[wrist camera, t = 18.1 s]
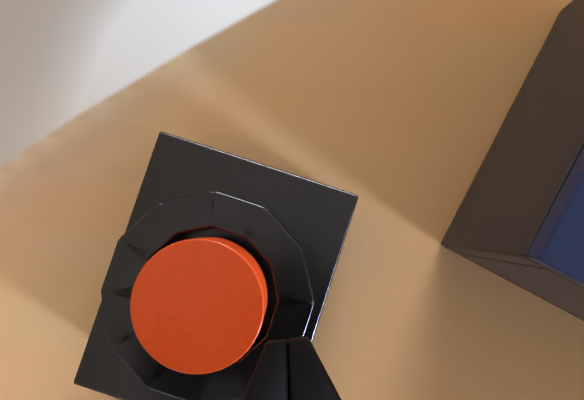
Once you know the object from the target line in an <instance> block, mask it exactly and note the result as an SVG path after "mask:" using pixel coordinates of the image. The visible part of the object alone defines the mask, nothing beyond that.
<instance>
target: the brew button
mask: <svg viewBox="0 0 584 400" xmlns="http://www.w3.org/2000/svg"><path fill="white" fill-rule="evenodd" d="M267 302H268V289H267V283H266V279H265V276H264V273H263V271H262V269H261V267H260V265H259V264H258V262H257V261H256V260H255V258H254V257H253V256H252V255H251V254H250V253H249V252H248V251H247V250H246V249H244V248H243V247H242V246H240V245H238V244H236V243H235V242H232V241H230V240H227V239H223V238H218V237H201V238H194V239H188V240H182V241H179V242H175V243H173V244H171V245H168V246H166V247H165V248H163V249H161V250H160V251H159V252H157V253H156V254H155V255H153V256H152V257H151V258H150V259H149V260H148V261H147V263H146V264H145V265H144V266H143V268H142V269H141V271H140V273H139V274H138V276H137V278H136V281H135V283H134V286H133V289H132V293H131V300H130V314H131V321H132V325H133V329H134V331H135V334H136V336H137V338H138V340H139V342H140V343H141V345H142V346H143V348H144V349H145V350H146V352H147V353H148V354H149V355H150V356H151V357H152V358H154V359H155V360H156V361H157V362H159V363H160V364H162V365H164V366H165V367H167V368H169V369H172V370H174V371H177V372H181V373H186V374H207V373H212V372H216V371H219V370H222V369H224V368H226V367H228V366H230V365H231V364H233V363H235V362H236V361H237V360H239V359H240V358H241V357H242V356H243V355H244V354H245V353H246V352H247V351H248V350H249V349H250V347H251V346H252V345H253V343H254V341H255V340H256V338H257V336H258V334H259V331H260V329H261V326H262V323H263V319H264V316H265V312H266V308H267Z"/></svg>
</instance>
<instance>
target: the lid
mask: <svg viewBox="0 0 584 400" xmlns="http://www.w3.org/2000/svg"><path fill="white" fill-rule="evenodd" d="M527 257H528V258H529V259H531V260H533V261H535V262H537V263H539V264H541V265H542V266H544V267H546V268H548V269H550V270H552V271H554V272H556V273H558V274H559V275H561V276H563V277H565V278H567V279H569V280H571V281H573V282H575V283H576V284H578V285H580V286H582V287H584V148H583V149H582V151H581V153H580V155H579V157H578V159H577V161H576V163H575V165H574V166H573V168H572V170H571V172H570V174H569V176H568V178H567V180H566V182H565V183H564V185H563V187H562V189H561V191H560V193H559V195H558V197H557V198H556V200H555V202H554V204H553V206H552V208H551V210H550V212H549V214H548V215H547V217H546V219H545V221H544V223H543V225H542V227H541V229H540V231H539V232H538V234H537V236H536V238H535V240H534V242H533V244H532V246H531V247H530V249H529V251H528V253H527Z"/></svg>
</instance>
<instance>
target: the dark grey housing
mask: <svg viewBox="0 0 584 400" xmlns="http://www.w3.org/2000/svg"><path fill="white" fill-rule="evenodd" d="M583 148H584V0H573V1H572V2H571V3H570V4H568V5H567V6H566V7H565V8H563V9H562V10H561V12H560V14H559V16H558V18H557V19H556V21H555V23H554V25H553V27H552V29H551V31H550V33H549V35H548V37H547V39H546V41H545V43H544V45H543V47H542V49H541V50H540V52H539V54H538V56H537V58H536V60H535V62H534V64H533V66H532V68H531V70H530V72H529V74H528V76H527V78H526V80H525V81H524V83H523V85H522V87H521V89H520V91H519V93H518V95H517V97H516V99H515V101H514V103H513V105H512V107H511V109H510V111H509V113H508V114H507V116H506V118H505V120H504V122H503V124H502V126H501V128H500V130H499V132H498V134H497V136H496V138H495V140H494V142H493V144H492V145H491V147H490V149H489V151H488V153H487V155H486V157H485V159H484V161H483V163H482V165H481V167H480V169H479V171H478V173H477V175H476V176H475V178H474V180H473V182H472V184H471V186H470V188H469V190H468V192H467V194H466V196H465V198H464V200H463V202H462V204H461V206H460V207H459V209H458V211H457V213H456V215H455V217H454V219H453V221H452V223H451V225H450V227H449V229H448V231H447V233H446V235H445V237H444V239H443V240H442V242H441V245H442V246H444V247H446V248H447V249H449V250H451V251H453V252H455V253H457V254H459V255H461V256H462V257H464V258H466V259H468V260H470V261H472V262H474V263H476V264H478V265H479V266H481V267H483V268H485V269H487V270H489V271H491V272H493V273H495V274H496V275H498V276H500V277H502V278H504V279H506V280H508V281H510V282H511V283H513V284H515V285H517V286H519V287H521V288H523V289H525V290H527V291H528V292H530V293H532V294H534V295H536V296H538V297H540V298H542V299H544V300H545V301H547V302H549V303H551V304H553V305H555V306H557V307H559V308H560V309H562V310H564V311H566V312H568V313H570V314H572V315H574V316H576V317H577V318H579V319H581V320H583V321H584V287H582V286H580V285H578V284H576V283H575V282H573V281H571V280H569V279H567V278H565V277H563V276H561V275H559V274H558V273H556V272H554V271H552V270H550V269H548V268H546V267H544V266H542V265H541V264H539V263H537V262H535V261H533V260H531V259H529V258H528V257H527V253H528V251H529V249H530V247H531V246H532V244H533V242H534V240H535V238H536V236H537V234H538V232H539V231H540V229H541V227H542V225H543V223H544V221H545V219H546V217H547V215H548V214H549V212H550V210H551V208H552V206H553V204H554V202H555V200H556V198H557V197H558V195H559V193H560V191H561V189H562V187H563V185H564V183H565V182H566V180H567V178H568V176H569V174H570V172H571V170H572V168H573V166H574V165H575V163H576V161H577V159H578V157H579V155H580V153H581V151H582V149H583Z"/></svg>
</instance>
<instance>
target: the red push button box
mask: <svg viewBox="0 0 584 400" xmlns="http://www.w3.org/2000/svg"><path fill="white" fill-rule="evenodd" d="M357 199H358V196H357V195H355V194H352V193H349V192H346V191H343V190H340V189H337V188H334V187H331V186H328V185H325V184H322V183H318V182H315V181H312V180H309V179H306V178H303V177H300V176H297V175H294V174H291V173H288V172H285V171H282V170H278V169H275V168H272V167H269V166H266V165H263V164H260V163H257V162H254V161H251V160H248V159H245V158H242V157H238V156H235V155H232V154H229V153H226V152H223V151H220V150H217V149H214V148H211V147H208V146H205V145H202V144H198V143H195V142H192V141H189V140H186V139H183V138H180V137H177V136H174V135H171V134H168V133H165V132H160V133H159V136H158V139H157V141H156V144H155V147H154V150H153V153H152V156H151V159H150V162H149V165H148V168H147V171H146V173H145V176H144V179H143V182H142V185H141V188H140V191H139V194H138V197H137V200H136V203H135V205H134V208H133V211H132V214H131V217H130V220H129V223H128V226H127V229H126V232H125V234H124V235H122V236H121V238H120V239H119V240H118V243H117V246H116V249H115V252H114V254H113V257H112V260H111V263H110V266H109V269H108V272H107V275H106V278H105V281H104V284H103V286H102V289H101V291H102V292H101V295H102V302H101V304H100V307H99V310H98V313H97V316H96V319H95V322H94V325H93V328H92V331H91V334H90V336H89V339H88V342H87V345H86V348H85V351H84V354H83V357H82V360H81V363H80V366H79V368H78V371H77V374H76V377H75V380H74V383H75V384H77V385H80V386H83V387H86V388H89V389H92V390H95V391H98V392H101V393H104V394H107V395H110V396H113V397H115V398H118V399H121V400H242V399H243V397H244V394H245V392H246V389H247V387H248V385H249V382H250V380H251V377H252V375H253V373H254V370H255V368H256V365H257V363H258V361H259V358H260V356H261V353H262V351H263V349H264V346H265V344H266V343H267V342H268V341H269V340H277V339H286V340H287V341H288V340H289V339H290V338H296V337H308V338H309V340H310V341H311V343H312V340H313V337H314V334H315V331H316V328H317V325H318V321H319V318H320V315H321V312H322V309H323V306H324V303H325V300H326V296H327V293H328V290H329V287H330V284H331V281H332V278H333V275H334V271H335V268H336V265H337V262H338V259H339V256H340V253H341V249H342V246H343V243H344V240H345V237H346V234H347V231H348V228H349V224H350V221H351V218H352V215H353V212H354V209H355V206H356V203H357ZM201 237H218V238H223V239H227V240H230V241H232V242H235V243H236V244H238V245H240V246H242V247H243V248H244V249H246V250H247V251H248V252H249V253H250V254H251V255H252V256H253V257H254V258H255V260H256V261H257V262H258V264H259V265H260V267H261V269H262V271H263V273H264V276H265V279H266V283H267V289H268V302H267V308H266V312H265V316H264V319H263V323H262V326H261V329H260V331H259V334H258V336H257V338H256V340H255V341H254V343H253V345H252V346H251V347H250V349H249V350H248V351H247V352H246V353H245V354H244V355H243V356H242V357H241V358H240V359H239V360H237V361H236V362H235V363H233V364H231V365H230V366H228V367H226V368H224V369H222V370H219V371H216V372H212V373H207V374H186V373H181V372H177V371H174V370H172V369H169V368H167V367H165V366H164V365H162V364H160V363H159V362H157V361H156V360H155V359H154V358H152V357H151V356H150V355H149V354H148V353H147V352H146V350H145V349H144V348H143V346H142V345H141V343H140V342H139V340H138V338H137V336H136V334H135V331H134V329H133V325H132V321H131V314H130V300H131V293H132V289H133V286H134V283H135V281H136V278H137V276H138V274H139V273H140V271H141V269H142V268H143V266H144V265H145V264H146V263H147V261H148V260H149V259H150V258H151V257H152V256H153V255H155V254H156V253H157V252H159V251H160V250H161V249H163V248H165V247H166V246H168V245H171V244H173V243H175V242H179V241H182V240H188V239H194V238H201Z"/></svg>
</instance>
